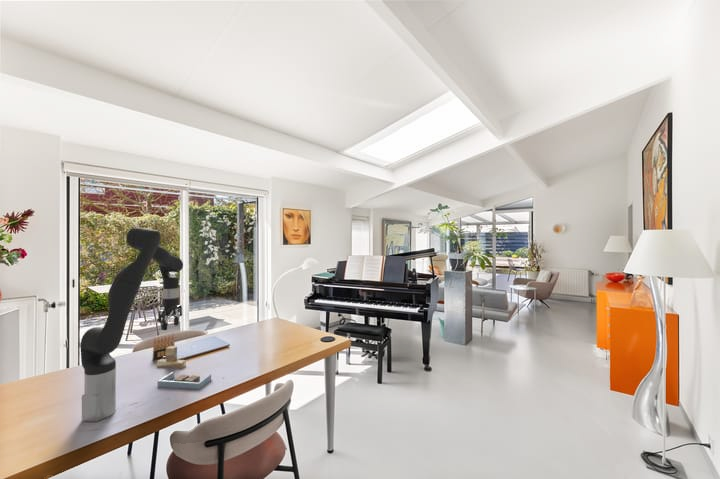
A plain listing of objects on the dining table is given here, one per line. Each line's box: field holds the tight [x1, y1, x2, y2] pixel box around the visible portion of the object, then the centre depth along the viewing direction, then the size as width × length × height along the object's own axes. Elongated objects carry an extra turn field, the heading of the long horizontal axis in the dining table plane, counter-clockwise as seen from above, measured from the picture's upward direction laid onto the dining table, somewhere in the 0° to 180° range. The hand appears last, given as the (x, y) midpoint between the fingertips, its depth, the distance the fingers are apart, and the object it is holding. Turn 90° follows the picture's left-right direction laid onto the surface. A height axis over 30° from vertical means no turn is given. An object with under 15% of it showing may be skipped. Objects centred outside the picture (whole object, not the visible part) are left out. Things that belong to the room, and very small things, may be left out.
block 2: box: [184, 374, 201, 382], centre depth 146 cm, size 5×4×2 cm
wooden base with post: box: [156, 345, 187, 369], centre depth 163 cm, size 3×14×10 cm, turn 84°
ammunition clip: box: [152, 334, 175, 361], centre depth 175 cm, size 11×2×12 cm, turn 139°
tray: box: [157, 371, 212, 390], centre depth 146 cm, size 10×20×2 cm, turn 84°
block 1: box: [173, 373, 190, 382], centre depth 146 cm, size 5×4×2 cm
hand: (170, 327), depth 163 cm, fingers open, 8 cm apart
